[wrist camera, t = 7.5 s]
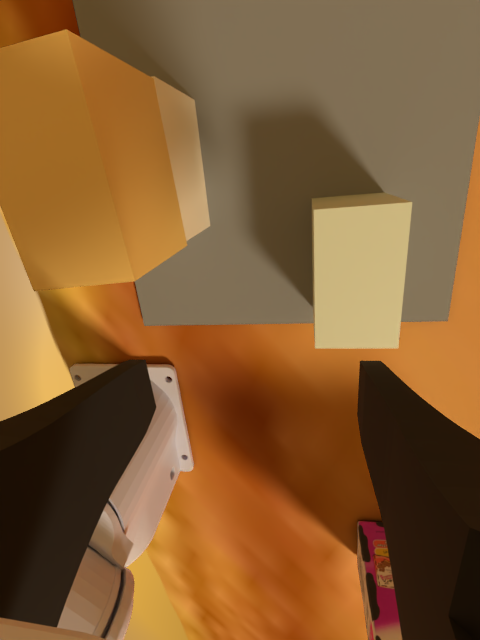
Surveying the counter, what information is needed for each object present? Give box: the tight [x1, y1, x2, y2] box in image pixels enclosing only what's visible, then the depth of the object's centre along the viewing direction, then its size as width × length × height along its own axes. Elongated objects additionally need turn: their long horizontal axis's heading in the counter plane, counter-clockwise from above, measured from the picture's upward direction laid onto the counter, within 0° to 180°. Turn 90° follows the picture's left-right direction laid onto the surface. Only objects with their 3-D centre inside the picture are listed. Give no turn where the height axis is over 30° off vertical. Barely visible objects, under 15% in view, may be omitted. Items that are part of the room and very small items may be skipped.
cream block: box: [152, 76, 210, 241], centre depth 16 cm, size 6×4×5 cm, turn 6°
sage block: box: [312, 192, 412, 348], centre depth 16 cm, size 6×4×5 cm, turn 5°
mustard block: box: [0, 29, 187, 291], centre depth 12 cm, size 6×4×5 cm, turn 8°
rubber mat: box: [72, 0, 480, 326], centre depth 17 cm, size 18×18×1 cm
